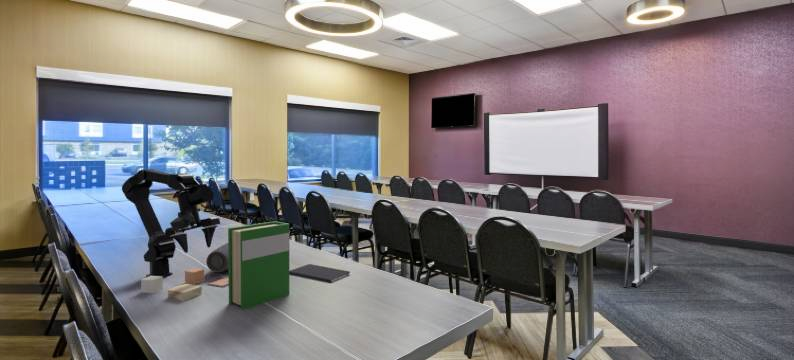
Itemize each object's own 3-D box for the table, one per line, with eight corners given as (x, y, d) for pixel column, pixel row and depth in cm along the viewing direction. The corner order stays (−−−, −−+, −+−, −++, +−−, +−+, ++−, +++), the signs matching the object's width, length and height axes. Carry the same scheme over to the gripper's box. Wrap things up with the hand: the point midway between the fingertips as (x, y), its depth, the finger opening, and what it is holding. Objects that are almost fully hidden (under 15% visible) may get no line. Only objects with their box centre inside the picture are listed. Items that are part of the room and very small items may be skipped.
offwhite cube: (141, 292, 140) (141, 279, 140) (150, 288, 145) (150, 275, 144) (153, 293, 140) (153, 280, 139) (162, 289, 144) (162, 276, 144)
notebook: (287, 275, 165) (331, 284, 154) (287, 271, 165) (331, 279, 154) (309, 267, 176) (351, 275, 165) (309, 263, 176) (351, 271, 165)
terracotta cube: (185, 283, 151) (184, 270, 151) (195, 279, 155) (195, 267, 155) (194, 284, 149) (194, 272, 149) (204, 281, 154) (204, 269, 153)
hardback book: (242, 309, 127) (242, 231, 125) (228, 304, 131) (228, 228, 130) (289, 294, 141) (289, 223, 139) (275, 289, 145) (275, 221, 144)
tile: (207, 284, 149) (207, 283, 149) (222, 279, 156) (222, 278, 156) (222, 287, 147) (222, 286, 147) (236, 281, 153) (236, 280, 153)
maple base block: (167, 298, 136) (167, 289, 136) (186, 292, 142) (185, 283, 142) (184, 301, 133) (183, 292, 133) (201, 295, 140) (201, 286, 140)
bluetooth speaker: (229, 275, 160) (228, 250, 160) (205, 275, 161) (204, 249, 160) (251, 260, 183) (250, 237, 182) (229, 260, 183) (229, 237, 183)
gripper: (149, 215, 145) (158, 259, 144) (196, 203, 142) (206, 248, 141) (171, 212, 156) (180, 253, 155) (216, 201, 153) (225, 243, 152)
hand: (197, 250), depth 151 cm, fingers open, 9 cm apart
